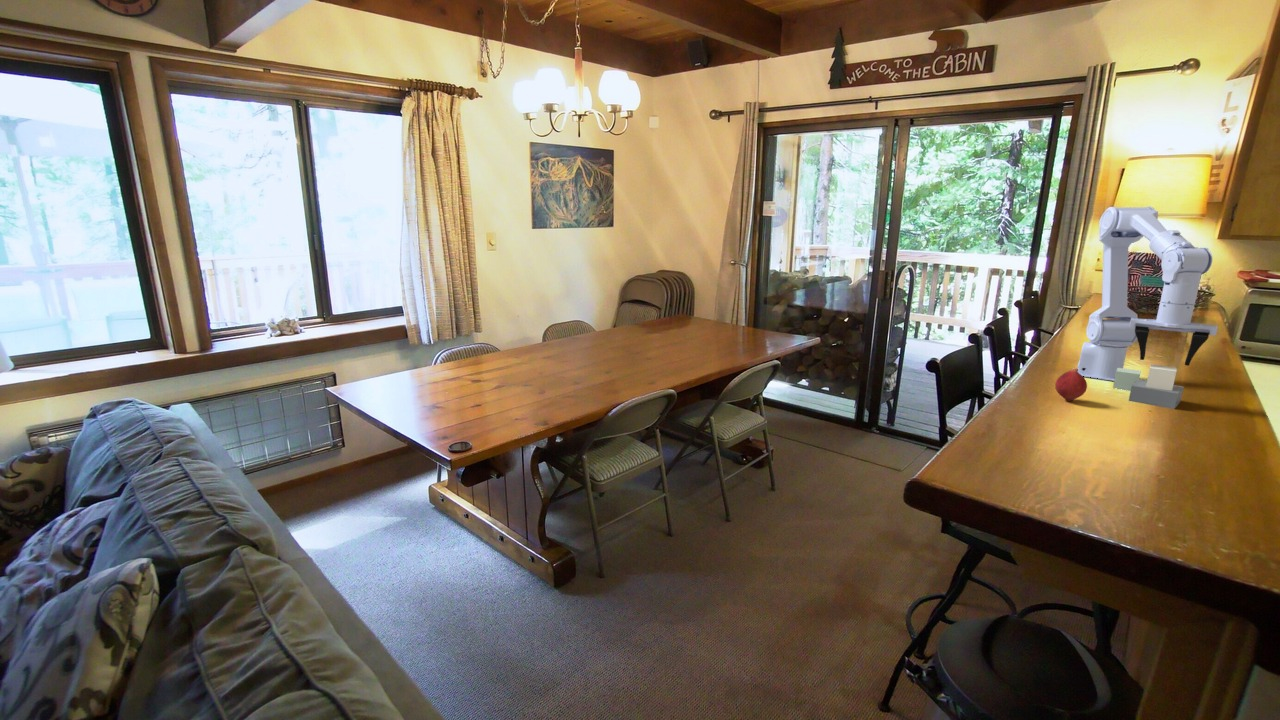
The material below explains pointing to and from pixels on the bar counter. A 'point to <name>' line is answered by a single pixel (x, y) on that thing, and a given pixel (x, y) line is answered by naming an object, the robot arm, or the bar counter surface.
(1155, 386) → the cream block
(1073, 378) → the onion
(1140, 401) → the base block
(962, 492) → the bar counter surface
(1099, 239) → the robot arm
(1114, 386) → the sage block
